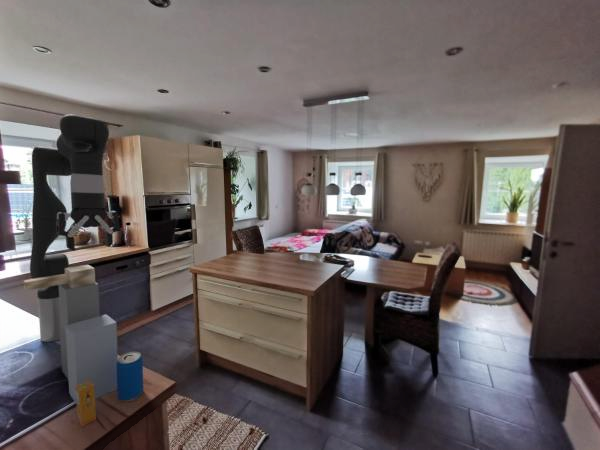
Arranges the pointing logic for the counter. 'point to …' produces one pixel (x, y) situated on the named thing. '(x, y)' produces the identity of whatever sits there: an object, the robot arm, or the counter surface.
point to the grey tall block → (92, 354)
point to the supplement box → (85, 403)
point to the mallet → (65, 278)
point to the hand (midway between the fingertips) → (90, 248)
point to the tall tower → (76, 311)
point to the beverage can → (129, 376)
